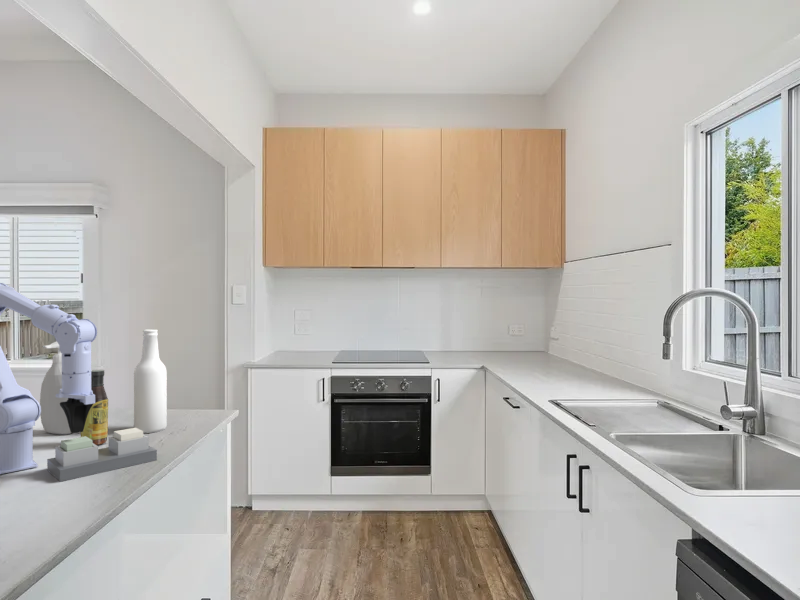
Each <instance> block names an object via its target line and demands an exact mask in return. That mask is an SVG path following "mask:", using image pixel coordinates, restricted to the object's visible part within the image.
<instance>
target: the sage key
mask: <svg viewBox="0 0 800 600" xmlns="http://www.w3.org/2000/svg"><path fill="white" fill-rule="evenodd" d="M60 446H61V448H62V449H64V450H65V451H66V452H68V451H73V450H78V449H84V448H89V447H93V440H91V439H90V438H88V437H86V436H85V437H81V436H80V437H75V438H67V439H63V440H61V441H60Z"/></svg>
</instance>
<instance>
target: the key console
mask: <svg viewBox="0 0 800 600" xmlns="http://www.w3.org/2000/svg"><path fill="white" fill-rule="evenodd" d="M149 438H150V437H149V436H148V435H146V434H145V433H143V437H142V438H136V439H131V440H126V441H121V442H120V441H119V440H117V439H115V438H114V435H113V436H109V437H108V447H103V448H99V445H95V444H94V443H93V447H89V448H84V449H78V450H73V451H68V452H66V451H65V450H64V449H62V448H61V445H57V446H55V453H54V454H55V457H50V458H47V459H46V460H47V461H46V462H47V465H46V467H47V468H46V469H47V471H48V473H50V474H51V475H52V476H53V477H54V478H56V479H57V481H59V482H60V483H61V482H66V481H70V480H73V479H74V480H75V479H80V478H83V477H87V476H92V475H96V474H100V473H101V474H102V473H105V472H109V471H115V470H119V469H124V468H127V467H132V466H137V465H141V464H145V463H149V462H156V461H157V458H158V456H157V451H158V449H156V448H154V447H152V446H150V445H149V442H150V441H149V440H150V439H149Z"/></svg>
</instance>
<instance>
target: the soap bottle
mask: <svg viewBox="0 0 800 600" xmlns="http://www.w3.org/2000/svg"><path fill="white" fill-rule="evenodd" d="M42 348H43V349H57V353H55V354H53V355H52V364H51V365H50V367H49V369H48V371H47V372H46V373H45V375H44V378H43V379H42V382H41V388H40V395H39V396H40V397H39V404H40V406H41V414H40V422H41V425H42V428H43V430H44V432H46V433H49V434H52V435H71V434H72V433H71V431H70V428H69V424H68V421H67V417H66V415H65V412H64V410H63V409H62V407H61V406H60V403H61V402H66V401H67V400H68V398H63V397H62V398H57V397H56V394H59V393H60V389H62V353H61V351H60V347H59V344H58V342H57V341H56V340H55V341H53V342H52V343H50V344H47V345H42Z"/></svg>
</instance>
